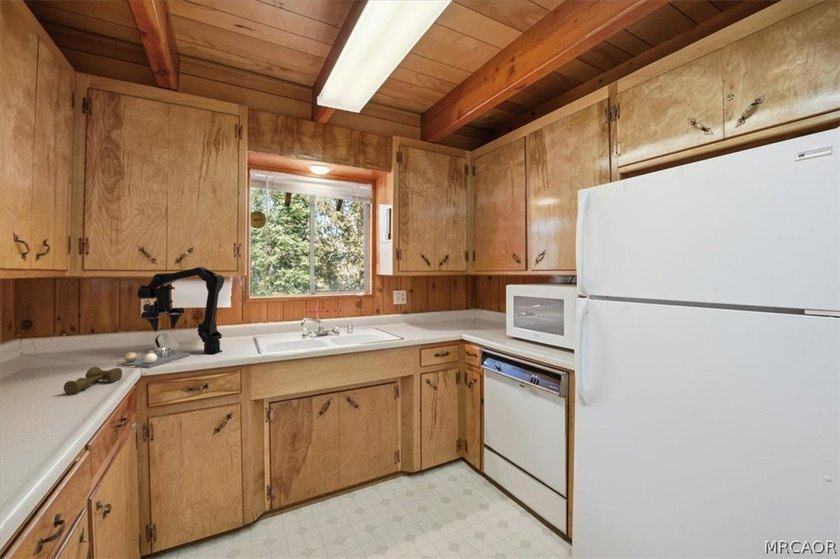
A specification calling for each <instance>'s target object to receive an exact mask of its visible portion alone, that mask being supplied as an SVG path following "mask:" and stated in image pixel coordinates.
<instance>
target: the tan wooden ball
mask: <svg viewBox="0 0 840 559" xmlns="http://www.w3.org/2000/svg"><path fill="white" fill-rule="evenodd" d="M137 357H138V355H137V352H133V351H130V352H127V353H125V354H124V356H123V359H124V362H133V361H135V360H136V359H138V358H137Z"/></svg>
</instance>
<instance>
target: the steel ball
mask: <svg viewBox="0 0 840 559" xmlns="http://www.w3.org/2000/svg"><path fill="white" fill-rule="evenodd" d="M163 351H168V348H167V347H165V346H161V347H159V348H158V349H157V352H163Z"/></svg>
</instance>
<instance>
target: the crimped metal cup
mask: <svg viewBox="0 0 840 559" xmlns="http://www.w3.org/2000/svg"><path fill="white" fill-rule="evenodd" d="M176 350H177V348H176V349H175V348H168V351H163V352H157V349H155V348H154V349H150V350H148V351H147V354H149V353H154V354H156V355H157V358H164V357H169V356H173V355H175V354H176V353H177V352H176Z"/></svg>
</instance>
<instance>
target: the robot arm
mask: <svg viewBox="0 0 840 559" xmlns="http://www.w3.org/2000/svg"><path fill="white" fill-rule="evenodd" d="M197 276H198V277H199V279H201V280H202V281H204V282H205V287H206V289H207V296H206V305H205V311H204V316H203V317H204V318H203V320H202V322H199V323H198V327H197V331H196V332H198V333H197V335H198V336H199V338H200V339H201V342H202V343H204V344H203V347H204V348H203V351H202V353H201V354H203V355H204V354H205V355H216V354H218V353H221V352H223V349H221V341H220V340H221V339H222V337H223V334H222V333H221V332H220V331H218V326H217V323H216V322H217V321H216V314H217V308H218V301H219V294H220V291H221V290H222V289H223V287H224V283H225V277H224V276H223V275H222V274H218V273H215V272H214V271H211V270H209V269H207V268H205V267H204V266H203V267H202V266H197V267H195V268H191V269H185V270H182V271H176V272H167V273H165V272H163V273H155V274H154V275H153V278H152V280H151V281H150V282H149V284H147V285H146V284H143V285H140V288H138V290H137V296H138V297H137V298H138V299H141V300H152V299H153V300H154V299H155V300H154V301H153V304H149V303H147V304H143V306H142V308H143V309H142V310H143V311H142V313H140V316H141V319H143V320H147V321H148V322H149V323H150V325H151V328H152V329H153V331H154V332H155V333H156V332H158V329H159V323H160V317H159V316H163V315H168V316H169V317H170V318H169V319H170V327H171V329H175V327H176V325H177V323H178V321H179V320H180V318H181V316H183V314H185V309H184V307H171V306H172V305H171V304H172V303H173V300H172V299H171V290H175V289H176V287H174V286H173V285H172V284H173V283H175V282H177V281H179V280H184V279H190V278H192V277H193V278H194V277H197Z"/></svg>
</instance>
